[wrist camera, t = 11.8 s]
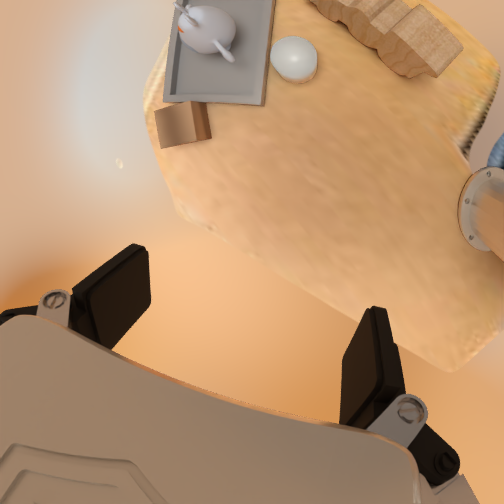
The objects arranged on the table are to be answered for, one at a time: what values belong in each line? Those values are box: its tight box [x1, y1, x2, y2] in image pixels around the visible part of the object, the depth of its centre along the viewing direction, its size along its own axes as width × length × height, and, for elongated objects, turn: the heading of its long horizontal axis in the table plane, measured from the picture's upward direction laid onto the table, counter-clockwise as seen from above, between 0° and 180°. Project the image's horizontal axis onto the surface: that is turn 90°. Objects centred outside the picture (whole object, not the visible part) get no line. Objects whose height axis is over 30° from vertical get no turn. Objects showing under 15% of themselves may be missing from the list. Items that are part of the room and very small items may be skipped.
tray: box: [163, 0, 276, 106], centre depth 27 cm, size 13×18×2 cm
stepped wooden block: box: [309, 0, 463, 78], centre depth 19 cm, size 6×17×10 cm, turn 51°
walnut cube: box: [154, 101, 212, 149], centre depth 32 cm, size 5×5×5 cm
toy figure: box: [173, 2, 236, 63], centre depth 23 cm, size 11×6×12 cm, turn 33°
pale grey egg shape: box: [270, 36, 317, 83], centre depth 26 cm, size 5×5×5 cm
